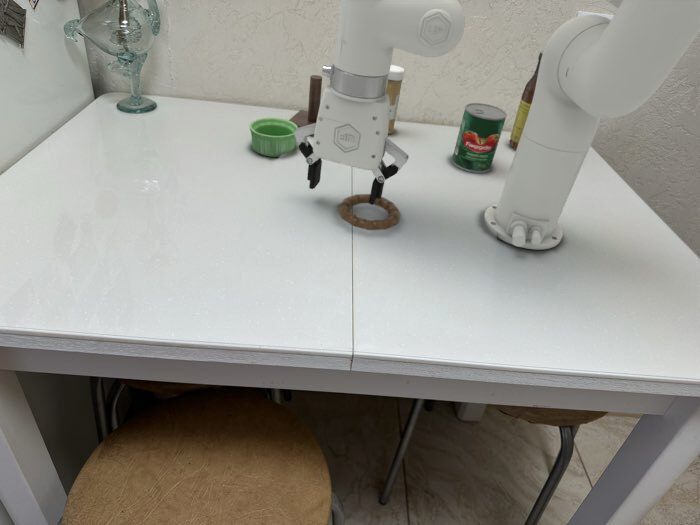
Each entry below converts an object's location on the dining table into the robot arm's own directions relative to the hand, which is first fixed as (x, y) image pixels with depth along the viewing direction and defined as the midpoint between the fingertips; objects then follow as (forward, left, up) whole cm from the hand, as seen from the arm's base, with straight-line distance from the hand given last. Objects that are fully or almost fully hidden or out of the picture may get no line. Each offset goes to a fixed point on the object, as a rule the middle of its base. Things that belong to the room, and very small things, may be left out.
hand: (343, 192), depth 76 cm
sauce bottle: (+44, -28, -4) cm, 53 cm away
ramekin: (+16, +19, -4) cm, 25 cm away
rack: (+30, +16, -3) cm, 34 cm away
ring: (0, -4, -2) cm, 5 cm away
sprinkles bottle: (+36, +1, -4) cm, 37 cm away
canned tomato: (+29, -18, -4) cm, 35 cm away
